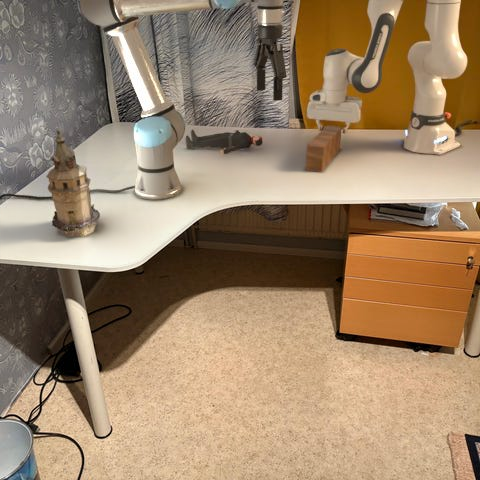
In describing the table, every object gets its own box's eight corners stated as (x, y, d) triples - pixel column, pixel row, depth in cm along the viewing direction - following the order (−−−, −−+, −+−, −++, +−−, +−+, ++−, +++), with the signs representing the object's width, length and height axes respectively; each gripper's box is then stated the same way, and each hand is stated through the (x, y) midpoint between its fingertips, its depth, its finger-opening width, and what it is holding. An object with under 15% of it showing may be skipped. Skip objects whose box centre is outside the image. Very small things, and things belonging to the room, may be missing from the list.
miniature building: (80, 214, 164) (63, 117, 149) (111, 225, 157) (96, 125, 142) (44, 231, 154) (22, 130, 140) (75, 244, 147) (55, 139, 133)
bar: (321, 172, 191) (323, 147, 186) (305, 169, 193) (307, 145, 188) (339, 149, 210) (341, 127, 206) (325, 147, 213) (326, 125, 208)
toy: (197, 123, 225) (267, 123, 219) (198, 137, 228) (268, 138, 222) (178, 143, 203) (256, 144, 197) (180, 159, 206) (257, 160, 200)
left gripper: (299, 28, 151) (296, 103, 161) (265, 18, 171) (264, 85, 182) (275, 30, 149) (273, 106, 159) (243, 19, 169) (244, 87, 180)
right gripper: (364, 95, 196) (361, 131, 203) (311, 91, 204) (310, 126, 211) (360, 99, 191) (357, 137, 198) (305, 95, 199) (305, 131, 206)
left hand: (269, 95), depth 171 cm, fingers open, 13 cm apart
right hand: (332, 131), depth 205 cm, fingers open, 8 cm apart
